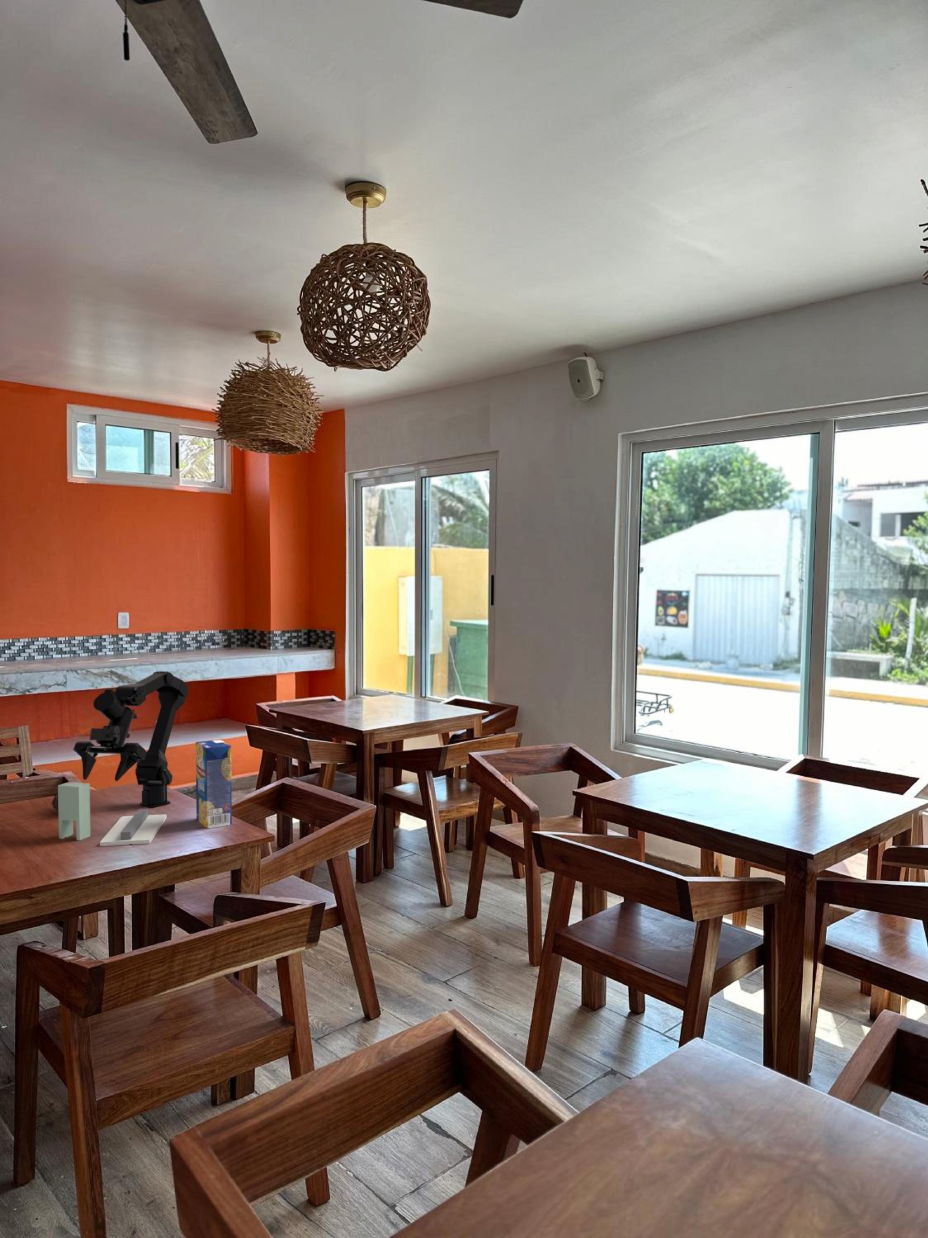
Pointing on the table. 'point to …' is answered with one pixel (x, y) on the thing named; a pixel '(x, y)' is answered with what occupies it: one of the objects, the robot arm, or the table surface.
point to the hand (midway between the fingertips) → (100, 780)
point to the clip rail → (138, 836)
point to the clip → (74, 809)
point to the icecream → (55, 802)
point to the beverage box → (213, 783)
